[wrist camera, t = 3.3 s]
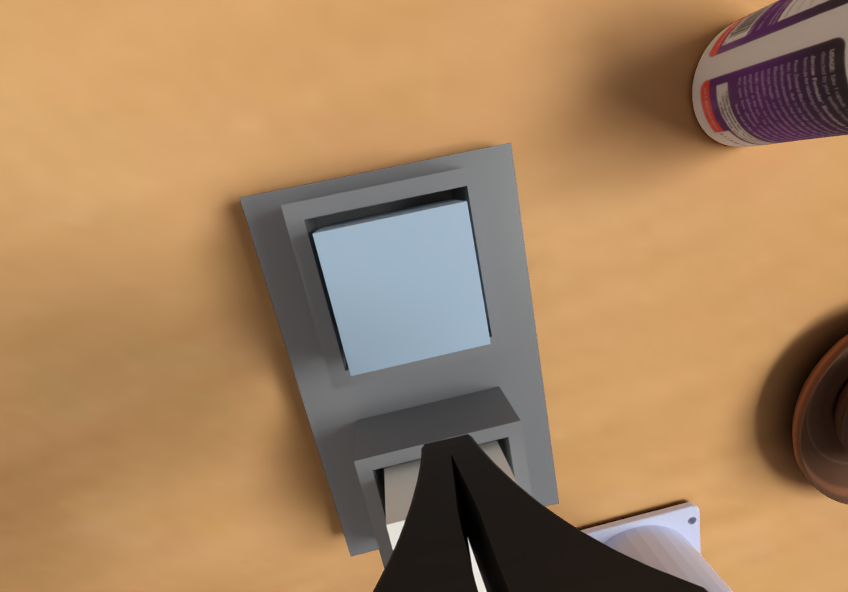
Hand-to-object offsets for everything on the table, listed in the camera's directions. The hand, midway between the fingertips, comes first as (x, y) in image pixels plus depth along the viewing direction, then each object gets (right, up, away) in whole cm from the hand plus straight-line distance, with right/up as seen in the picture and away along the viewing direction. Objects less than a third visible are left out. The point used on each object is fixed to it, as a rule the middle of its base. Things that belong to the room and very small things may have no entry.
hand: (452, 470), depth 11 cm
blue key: (-2, +6, +5) cm, 8 cm away
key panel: (-1, +2, +9) cm, 9 cm away
